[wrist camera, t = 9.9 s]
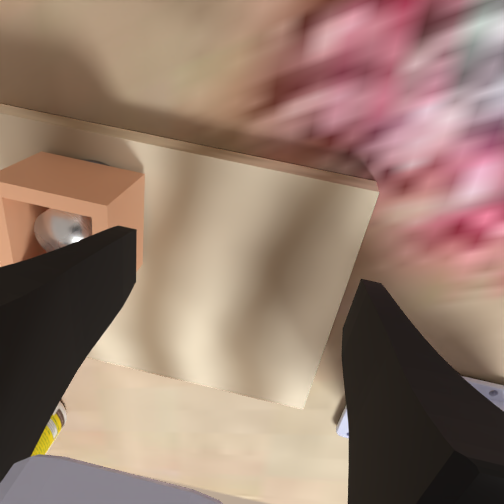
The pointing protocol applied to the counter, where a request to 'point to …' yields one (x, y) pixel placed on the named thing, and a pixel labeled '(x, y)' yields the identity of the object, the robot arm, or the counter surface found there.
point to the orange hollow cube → (66, 200)
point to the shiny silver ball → (62, 226)
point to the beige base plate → (219, 256)
